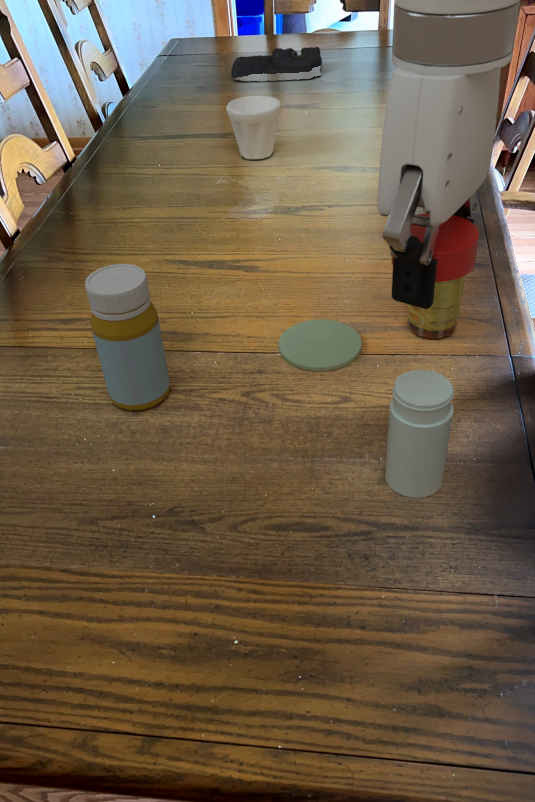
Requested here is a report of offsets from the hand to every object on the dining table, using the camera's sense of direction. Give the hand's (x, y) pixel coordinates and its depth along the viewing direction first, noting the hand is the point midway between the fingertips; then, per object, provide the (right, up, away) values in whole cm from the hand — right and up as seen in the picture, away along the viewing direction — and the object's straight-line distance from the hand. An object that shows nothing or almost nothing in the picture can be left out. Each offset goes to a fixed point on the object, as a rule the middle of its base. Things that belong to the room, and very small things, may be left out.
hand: (431, 279), depth 56 cm
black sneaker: (-11, +71, +119) cm, 139 cm away
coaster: (-7, -3, +30) cm, 31 cm away
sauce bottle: (+7, -1, +32) cm, 33 cm away
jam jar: (+1, -17, +13) cm, 21 cm away
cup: (-15, +37, +78) cm, 88 cm away
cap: (0, +3, -2) cm, 4 cm away
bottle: (-27, -9, +25) cm, 38 cm away
